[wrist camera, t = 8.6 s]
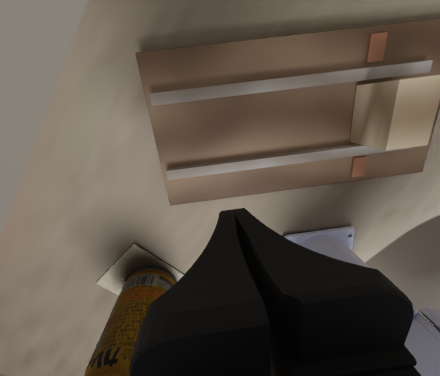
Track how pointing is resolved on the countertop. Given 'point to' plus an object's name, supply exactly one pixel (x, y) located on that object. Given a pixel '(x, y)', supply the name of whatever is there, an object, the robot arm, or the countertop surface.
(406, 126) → the fader tab
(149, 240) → the countertop surface
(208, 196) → the console
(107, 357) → the condiment
